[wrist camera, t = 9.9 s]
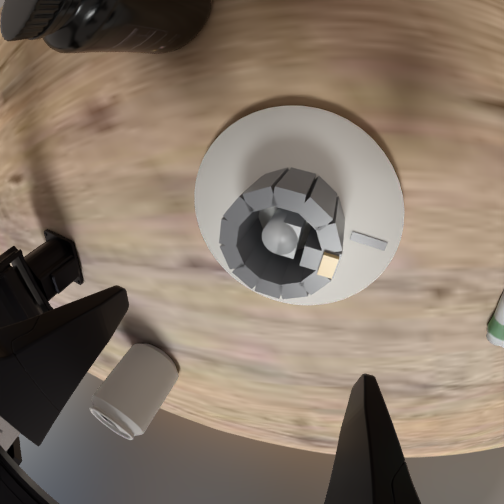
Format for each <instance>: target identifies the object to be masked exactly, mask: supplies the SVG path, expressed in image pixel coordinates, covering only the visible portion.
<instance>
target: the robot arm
mask: <svg viewBox="0 0 504 504" xmlns="http://www.w3.org/2000/svg"><path fill="white" fill-rule="evenodd" d="M44 234H45V238H46V242H45V243H43V244H42V245H40V246H39V247H37V248H36V249H35V250H33V251H32V252H30V253H29V254H28V255H26V256H25V257H23V255H22V251H21V249H20V250H18V249H17V248H16V247H15V246H13V247H11V248H10V249H8V250H7V251H6V252H4V253H3V254H1V255H0V504H59V503H58V502H57V501H55V500H54V499H53V498H52V497H51V496H50V495H48V494H47V493H46V492H45V491H44V490H43V489H42V488H41V487H40V486H39V485H37V484H36V483H35V482H34V481H33V480H32V479H31V478H30V477H29V476H28V475H27V474H26V473H25V472H24V471H23V470H22V469H21V468H20V467H19V465H20V463H21V462H22V457H21V450H20V441H19V437H18V435H19V434H20V433H21V434H22V435H24V436H25V437H26V438H28V439H29V440H30V441H32V442H33V443H34V444H36V445H37V446H39V445H40V444H41V443H42V441H43V439H44V438H45V436H46V434H47V433H48V431H49V430H50V428H51V426H52V424H53V423H54V421H55V420H56V418H57V417H58V415H59V413H60V412H61V410H62V409H63V407H64V406H65V404H66V403H67V401H68V399H69V398H70V397H71V395H72V394H73V392H74V391H75V389H76V388H77V386H78V385H79V383H80V381H81V380H82V379H83V377H84V376H85V374H86V373H87V371H88V370H89V368H90V367H91V366H92V364H93V363H94V361H95V360H96V359H97V357H98V356H99V354H100V353H101V351H102V350H103V349H104V347H105V346H106V345H107V343H108V342H109V340H110V339H111V337H112V336H113V334H114V332H115V330H116V329H117V327H118V325H119V324H120V322H121V320H122V318H123V317H124V315H125V313H126V312H127V310H128V307H129V302H128V296H127V291H126V289H124V288H122V287H120V286H113V287H110V288H108V289H105V290H102V291H100V292H97V293H95V294H92V295H89V296H87V297H84V298H81V299H79V300H76V301H74V302H71V303H68V304H66V305H63V306H61V307H58V308H55V309H53V308H52V307H51V306H50V304H49V302H48V301H49V300H50V299H51V298H52V297H54V296H55V295H56V294H57V293H58V294H59V293H60V292H61V291H63V290H64V289H65V288H66V287H67V286H68V285H70V284H71V283H72V282H73V281H74V282H76V283H78V284H79V285H81V284H83V279H82V275H81V271H80V267H79V263H78V259H77V255H76V250H75V246H74V243H73V242H72V241H71V240H69V239H67V238H65V237H62V236H60V235H58V234H56V233H54V232H52V231H50V230H48V229H47V230H45V231H44ZM10 263H12V265H13V267H12V266H10ZM404 461H405V458H404V455H403V452H402V449H401V446H400V443H399V440H398V437H397V435H396V432H395V429H394V426H393V423H392V420H391V418H390V415H389V412H388V409H387V407H386V404H385V401H384V399H383V396H382V394H381V391H380V388H379V386H378V383H377V381H376V378H375V377H374V376H373V375H369V374H362V376H361V377H360V378H359V379H358V381H357V382H356V383H355V384H354V386H353V388H352V390H351V394H350V398H349V402H348V405H347V409H346V413H345V416H344V419H343V423H342V427H341V431H340V436H339V441H338V446H337V451H336V456H335V461H334V465H333V470H332V474H331V479H330V483H329V487H328V491H327V495H326V498H325V502H324V504H421V502H420V500H419V497H418V495H417V492H416V490H415V487H414V485H413V482H412V479H411V477H410V474H409V471H408V467H407V465H406V462H404Z"/></svg>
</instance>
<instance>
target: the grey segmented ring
mask: <svg viewBox="0 0 504 504" xmlns="http://www.w3.org/2000/svg"><path fill="white" fill-rule="evenodd" d="M315 176H316V174H315V173H311V172H307V171H304V170H300V169H296V168H292V167H291V168H290V170H289V169H288V167H287V168H284V169H280V170H277V171H273V172H270V173H266V174H264V175H263V176H261V177H260V178H259V179H258V180H257V181H256V182H255V183H253V184H252V185H251V186H250V187H249V188H248V189H247V190H246V191H244V192H243V193H242V194H241V195H240V196H239V197H238V198H237V199H236V201H235V202H234V203H233V204H232V205H231V206H230V208H229V209H228V210H227V211H226V212H225V214H224V215H223V218H222V219H221V227H220V238H219V243H220V244H221V246H220V249H221V251H222V253H223V255H224V258H225V260H226V262H227V264H228V267H229V269H234V270H233V271H232V273H233V274H235V275H236V276H237V277H238V278H239V279H240V280H241V281H243V282H244V283H245V284H246V285H247V286H248V287H250V288H251V289H252V288H254V287H255V291H256V292H259V293H262V294H265V295H269V296H272V297H275V298H278V299H279V298H280V296H282V298H283V299H290V298H299V297H308V294H310V295H312V294H314V293H315V292H317V291H318V290H319V289H321V288H322V287H324V286H325V285H326V284H328V283H329V282H331V279H332V278H334V275H335V273H336V270H337V267H338V265H339V262H340V259H341V256H342V251H343V240H344V227H345V217H344V213H343V210H342V206H341V202H340V198H339V196H338V197H337V193H336V192H335V191H334V190H333V189H332V188H331V187H330V186H329V185H328V184H327V183H326V182H325V181H324V180H323V179H322V178H321V177H320V176H318V177H317V178H316V179H315ZM270 207H278V208H281V209H285V210H289V211H292V212H296V213H299V214H300V215H301V216H302V217H303V218H304V219H305V220H306V221H307V222H308V223H309V224H310V225H311V229H310V232H309V235H308V238H307V241H306V244H305V248H302V249H297V251H296V254H295V256H294V259H292V258H288V257H285V256H282V255H278V254H275V253H273V252H271V251H270V250H268V249H267V248H266V246H265V245H264V243H263V241H262V232H263V228H262V225H261V222H260V220H259V211H260V210H262V209H266V208H270Z"/></svg>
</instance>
